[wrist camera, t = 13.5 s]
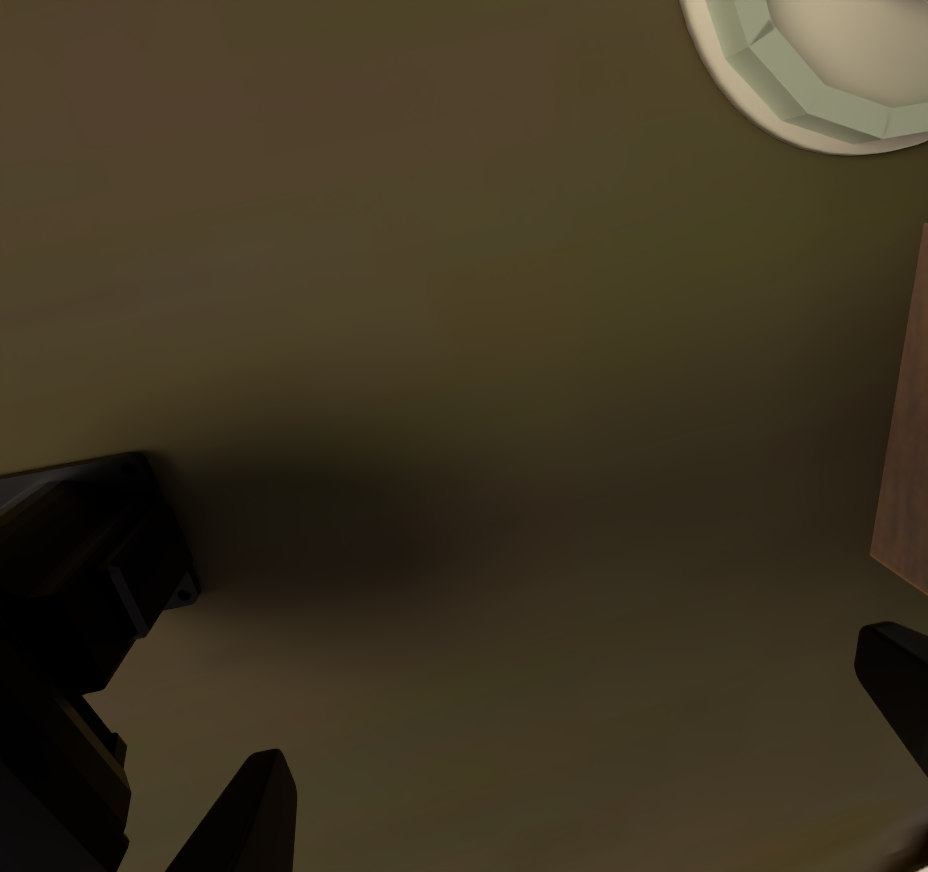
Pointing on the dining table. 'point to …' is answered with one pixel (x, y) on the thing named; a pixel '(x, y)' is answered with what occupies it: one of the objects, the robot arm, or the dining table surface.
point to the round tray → (820, 69)
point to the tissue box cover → (908, 450)
